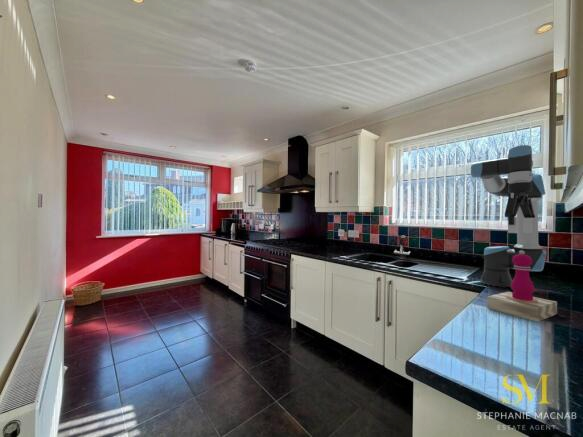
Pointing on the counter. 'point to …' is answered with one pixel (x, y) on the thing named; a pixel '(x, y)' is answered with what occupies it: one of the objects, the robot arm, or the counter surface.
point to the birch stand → (522, 306)
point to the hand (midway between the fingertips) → (520, 233)
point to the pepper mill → (522, 277)
